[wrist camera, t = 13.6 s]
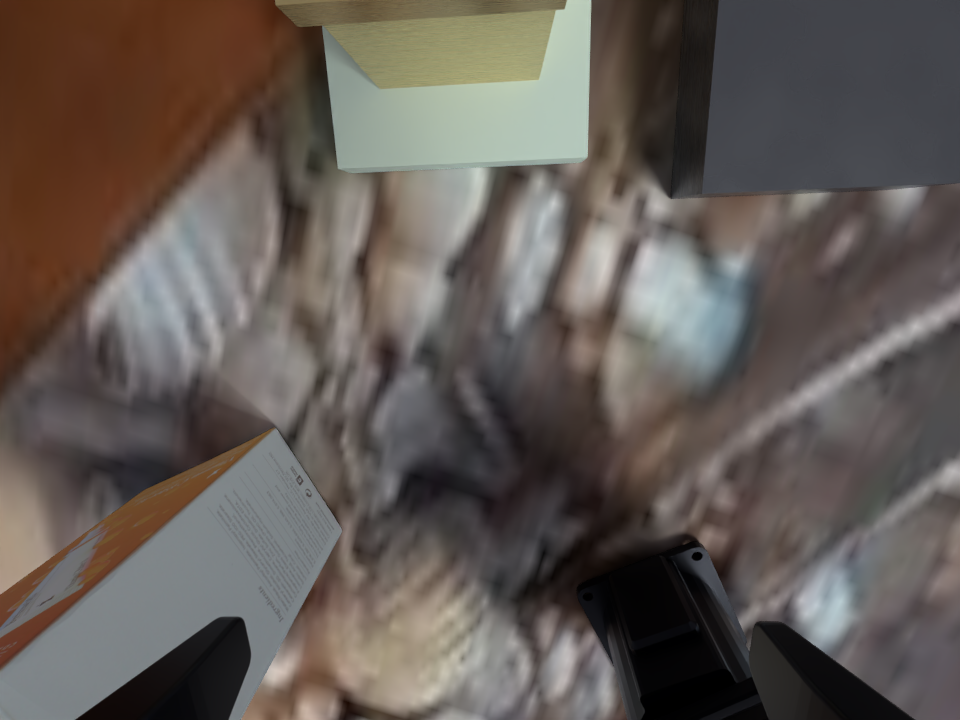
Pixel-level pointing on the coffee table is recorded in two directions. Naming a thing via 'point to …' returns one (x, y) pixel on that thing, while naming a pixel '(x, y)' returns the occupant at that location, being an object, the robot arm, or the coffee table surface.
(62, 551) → the small box
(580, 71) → the sage mat
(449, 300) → the coffee table surface
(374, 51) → the lever cap
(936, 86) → the plane body
